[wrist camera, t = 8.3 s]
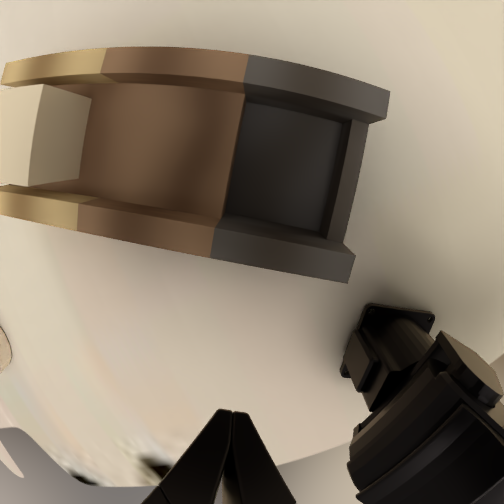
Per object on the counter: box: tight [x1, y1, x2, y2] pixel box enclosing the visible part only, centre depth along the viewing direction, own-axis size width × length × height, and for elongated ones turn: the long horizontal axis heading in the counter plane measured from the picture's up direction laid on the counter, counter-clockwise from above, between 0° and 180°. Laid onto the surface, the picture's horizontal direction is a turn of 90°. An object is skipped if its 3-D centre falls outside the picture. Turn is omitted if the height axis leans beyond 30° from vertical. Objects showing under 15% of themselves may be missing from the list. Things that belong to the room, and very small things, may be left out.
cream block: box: [0, 84, 92, 187], centre depth 13 cm, size 5×5×5 cm
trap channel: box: [0, 47, 390, 284], centre depth 16 cm, size 23×10×5 cm, turn 79°
